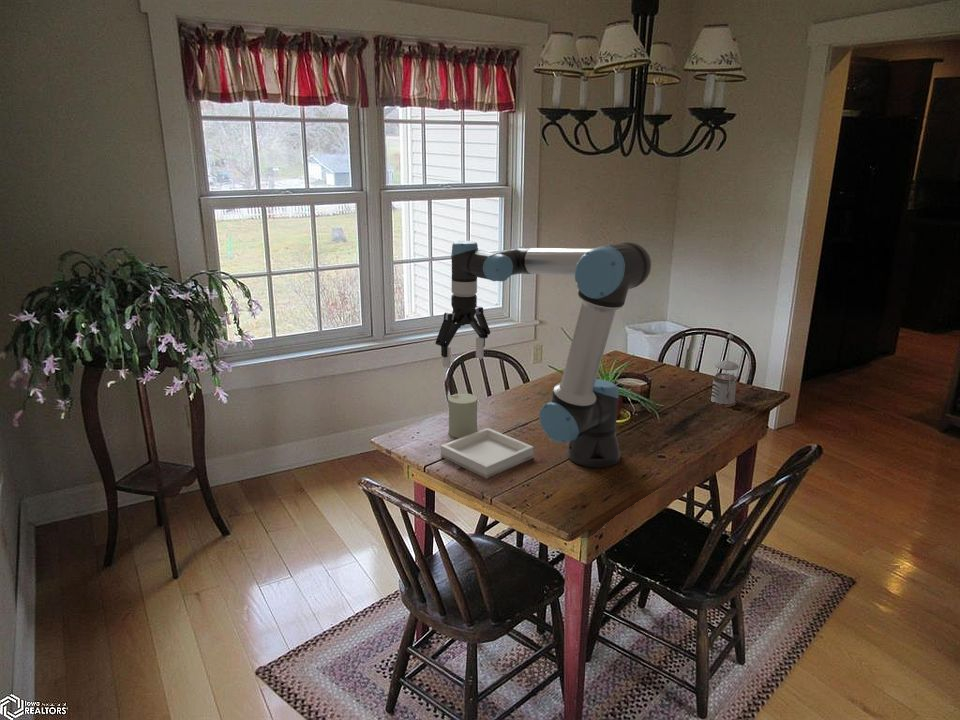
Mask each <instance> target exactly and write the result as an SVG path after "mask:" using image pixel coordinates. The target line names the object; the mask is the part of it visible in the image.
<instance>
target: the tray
mask: <svg viewBox="0 0 960 720" xmlns="http://www.w3.org/2000/svg"><path fill="white" fill-rule="evenodd" d="M477 431H478V432H475V433H472V434H470V435H467V436H464V437H462V438H456V439H454V440H452V441H449V442H446V443H443V444H441V445H440V457H441V456H442V458H443V457H444V458H443V459H445V458H446V459H445V460H447V459H448V460H447V461H449V460H450V461H449V462H451V461H452V462H451V463H453V462H454V464H455V465H457V464H458V466H459V465H460V466H459V467H461V466H462V467H461V468H462V469H463V468H464V469H466V470H468V471H470V472H471V473H473V474H476V475H477V476H480V477H482V478H483V479H486V480H487V479H489V478H491V477H494V476H495V475H497V474H500V473H502V472H504V471H506V470H509V469H512V468H513V467H516V466H519V465H520V464H523V463H525V462H527V461H529V460H532V459H534V446H532V445H530V444H528V443H526V442H523V441H521V440H518V439H516V438H513V437H511V436H509V435H507V434H504V433H501V432H499V431H497V430H494V429H492V428H490V427H486V428H483V429H480V430H477Z"/></svg>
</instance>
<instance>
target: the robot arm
mask: <svg viewBox="0 0 960 720" xmlns="http://www.w3.org/2000/svg"><path fill="white" fill-rule="evenodd" d="M478 245H479V244H478V242H476V241H473V240H458V241H457V240H456V241H455V242H453V243H452V246H451V256H450V257H451V293H452V294H451V298H450V299H451V307H452V312H450V313H449V312H444V314H443V320H442V323H441V326H440V330H439V332H438V335H437V337H436V340H435V345H437V346H439V347H440V349H441V350H440V355H441V358H442V367H445V368H447V369H450V368H451V362H452V361H451V360H452V359H451V346H449V345H450V343H452V341H453V339H454V337H455V335H456V333H457V332H458V330H459V329H461V327H463V326H466V325H470V326H471V327H472V329H473V330H474V332H475V333H476V335H477V336H476V337H475V357H476V358H478V359H481V360H482V359H484V355H485V354H484V353H485V352H484V350H485V346H486V339H488V338H489V335H491V330H490V328H489V325H488V322H487V318H486V317H485V314H484V307H482V306H478V303H477V302H478V300H477V299H478V298H477V296H478V295H477V293H478V278H479V279H485V280H489V281H492V282H505V281H507V280H508V279H509V278H510V277H511V276H514V275H545V276H546V275H550V276H551V275H554V276H571V277H574V279H575V282H576V287H577V289H578V292H577V296H578V298H579V300H580V301H581V305H580V307H579V308H580V309H579V314H578V317H577V320H576V324H575V327H574V328H575V329H574V333H573V336H572V339H571V344H570V348H569V351H568V356H567V358H566V363H565V367H564V370H563V374H562V378H561V381H560V382H559V383H557V384H555V385H554V387H553V390H552V393H551V397H550V400H549V401H547V402H545V403H544V405H542V407H541V408H540V411H539V415H538V416H539V417H538V418H539V423H540V426H541V428H542V429H543V432H544V433H545V434H546V435H547V436H548V438H550V439H551V440H552V441H555V442H557V443H562V444H563V443H568V446H567V457H568V459H569V460H571V462H573V463H575V464H577V465H580V466H583V467H588V468H600V469H601V468H609V467H611V466H615V465H616V464H618V463H619V462H620V461H621V449H620V445H619V442H618V438H617V421H618V420H617V417H618V406H619V398H620V396H619V387H618V386H617V384H615V383H613V382H611V381H609V380H605V379H599V378H597V377H598V373H599V371H600V367H601V364H602V363H601V362H602V359H603V356H604V352H605V351H606V350H605V349H606V346H607V343H608V342H607V341H608V338H609V336H610V332H611V328H612V325H613V321H614V318H615V315H616V311H617V310H619V309H621V308H623V307H624V305H625V302H626V299H627V295H628V291H629V290H631V289H633V288H637V287H639V286H640V285H642V284H643V283H645V281H646V280H647V279H648V277H649V276H650V273H651V269H652V260H651V256H650V254H649V252H648V250H646V248H645V247H643V246H642V245H640V244H638V243H635V242H627V241H626V242H621V243H616V244H608V245H601V246H597V247H594V248H593V247H591V248H590V247H589V248H588V247H586V248H585V247H584V248H583V247H581V248H580V247H579V248H578V247H572V248H571V247H570V248H569V247H566V248H565V247H531V246H519V247H515V248H511V249H503V250H497V251H482V250H479V248H478ZM475 316H476V317H475Z"/></svg>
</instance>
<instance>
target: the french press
mask: <svg viewBox="0 0 960 720" xmlns="http://www.w3.org/2000/svg"><path fill="white" fill-rule="evenodd" d="M726 337H727V338H728V339H729V342H728V350H727V351H728V352H727V358H726V360H720V361H717V362H716V363H714V367H715V368H716V369H719V370H722V371H723V370H725V372H724V373H716V374H715V375H714V377H715V378H713V381H712V389H711V391H712V392H711V395H710V396H711V397H710V398H711V401H712V402H716V403H719V404H732V403H735V402H736V400H735V399H736V392H737V391H736V388H737V383H738V381H737V380H736V379H737V377H736V376H735V373H732V374H731V373H727V371H737V370H738V369H739V368H740V366H739V364H737V363H736V362H734V361H731V360H729V356H730V355H729V353H730V346H731V345H730V344H731V339H733V338H734V335H733V334H728V335H727V336H726Z"/></svg>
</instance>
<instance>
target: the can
mask: <svg viewBox="0 0 960 720" xmlns="http://www.w3.org/2000/svg"><path fill="white" fill-rule="evenodd" d="M447 399H448V431H447V433H448V434H449V435H450V436H451V437H454V438H456V439H459V438H462V437H464V436H467V435H470V434H472V433H475V432H478V431H479V430H478V397H477V396H476V395H475V394H472V393H465V392H464V393H463V392H459V393H454V394H452V395H450V396H449V397H448V398H447Z"/></svg>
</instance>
